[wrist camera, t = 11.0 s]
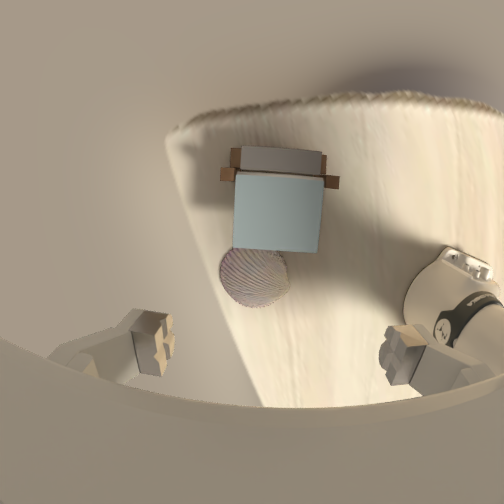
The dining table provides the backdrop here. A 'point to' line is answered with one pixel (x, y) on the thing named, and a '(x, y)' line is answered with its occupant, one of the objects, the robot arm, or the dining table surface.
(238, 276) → the seashell
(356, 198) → the dining table surface
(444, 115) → the dining table surface
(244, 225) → the trapdoor
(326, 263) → the dining table surface
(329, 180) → the frame
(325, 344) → the dining table surface
